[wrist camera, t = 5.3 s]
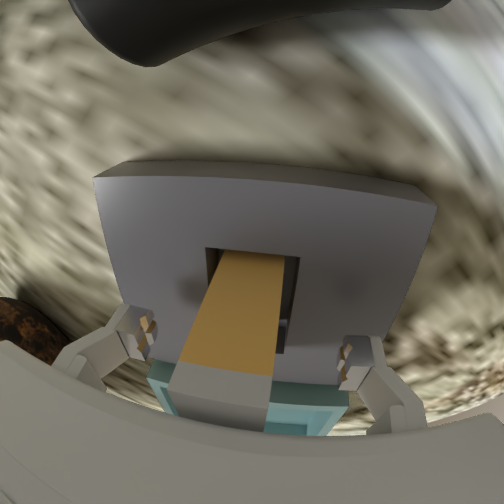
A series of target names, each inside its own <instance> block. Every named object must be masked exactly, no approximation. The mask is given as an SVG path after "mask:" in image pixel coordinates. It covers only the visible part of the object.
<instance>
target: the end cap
mask: <svg viewBox="0 0 504 504" xmlns="http://www.w3.org/2000/svg"><path fill="white" fill-rule="evenodd" d="M68 1H69V3H70V5H71V7H72V9H73V11H74V13H75V14H76V16H77V17H78V19H79V20H80V21H81V23H82V24H83V26H84V27H85V28H86V29H87V30H88V31H89V32H90V33H91V35H92V36H93V37H94V38H95V39H96V40H97V41H99V42H100V43H101V44H102V45H103V46H104V47H105V48H107V49H108V50H109V51H111V52H112V53H114V54H115V55H117V56H118V57H120V58H121V59H124V60H126V61H128V62H130V63H132V64H135V65H139V66H143V67H156V66H159V65H161V64H163V63H165V62H167V61H169V60H171V59H173V58H175V57H178V56H180V55H182V54H184V53H186V52H189V51H191V50H193V49H195V48H198V47H200V46H203V45H205V44H208V43H210V42H213V41H215V40H218V39H221V38H223V37H226V36H229V35H232V34H235V33H238V32H241V31H244V30H248V29H251V28H254V27H258V26H261V25H265V24H269V23H273V22H277V21H281V20H286V19H290V18H295V17H300V16H306V15H312V14H318V13H325V12H333V11H342V10H354V9H374V8H397V9H417V10H436V9H440V8H442V7H444V6H445V5H447V4H448V3H449V2H451V0H68Z"/></svg>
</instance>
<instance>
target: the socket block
mask: <svg viewBox="0 0 504 504" xmlns="http://www.w3.org/2000/svg"><path fill="white" fill-rule="evenodd" d="M93 184H94V189H95V195H96V200H97V206H98V211H99V215H100V220H101V224H102V229H103V233H104V237H105V241H106V245H107V249H108V253H109V256H110V260H111V264H112V267H113V271H114V274H115V277H116V281H117V284H118V287H119V290H120V293H121V296H122V299H123V302H124V304H129V305H133V306H137V307H141V308H145V309H149V310H152V311H153V313H154V318H153V320H154V321H155V322H156V323H157V326H158V334H157V338H156V340H155V343H153V344H151V345H150V349H151V351H150V353H149V355H148V357H150V358H154V359H157V360H161V361H165V362H169V363H174V364H177V362H178V359H179V357H180V354H181V352H182V349H183V347H184V345H185V342H186V340H187V337H188V335H189V332H190V330H191V328H192V325H193V323H194V320H195V318H196V316H197V313H198V311H199V309H200V306H201V304H202V301H203V299H204V297H205V294H206V292H207V290H208V287H209V285H210V283H211V280H212V278H213V276H214V274H215V271H216V269H217V267H218V264H219V262H220V260H221V258H222V255H223V253H224V251H225V249H229V250H238V251H248V252H257V253H267V254H276V255H285V261H284V273H283V284H282V295H281V305H280V315H279V324H278V334H277V343H276V351H275V360H274V368H273V376H272V380H273V381H282V382H293V383H306V384H324V385H338V382H337V376H338V374H339V370H338V369H337V364H336V362H337V354H338V351H339V348H340V347H341V346H343V338H344V336H345V335H363V336H380V338H381V341H382V342H383V340H384V338H385V337H386V335H387V333H388V331H389V329H390V327H391V325H392V323H393V321H394V319H395V317H396V315H397V313H398V311H399V309H400V307H401V304H402V302H403V300H404V298H405V296H406V293H407V291H408V289H409V287H410V284H411V282H412V279H413V277H414V275H415V272H416V270H417V267H418V265H419V262H420V259H421V257H422V254H423V251H424V248H425V246H426V243H427V240H428V237H429V234H430V231H431V228H432V225H433V221H434V218H435V215H436V211H437V208H438V206H437V205H436V204H435V203H434V202H433V201H432V200H431V199H430V198H428V197H427V196H426V195H425V194H424V193H423V192H422V191H421V190H419V189H418V188H417V187H416V186H415V185H411V184H406V183H402V182H397V181H392V180H386V179H381V178H375V177H370V176H364V175H358V174H351V173H345V172H338V171H330V170H323V169H315V168H306V167H297V166H287V165H275V164H262V163H247V162H227V161H136V162H122V163H120V164H118V165H116V166H114V167H112V168H110V169H108V170H106V171H104V172H102V173H100V174H98V175H96V176H95V177H93Z"/></svg>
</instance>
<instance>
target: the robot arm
mask: <svg viewBox="0 0 504 504" xmlns="http://www.w3.org/2000/svg"><path fill="white" fill-rule="evenodd" d="M153 318H154V313H153V311H152V310H149V309H145V308H141V307H137V306H133V305H129V304H124V303H122V304H121V305H120V306H119V307H118V308H117V310H116V311H115V313H114V314H113V316H112V317H111V319H110V320H109V321H108V323H107V324H106V326H105V327H100V328H99V329H97V330H95V331H93V332H91V333H89V334H87V335H85V336H84V337H82V338H80V339H78V340H76V341H74V342H72V343H71V344H69V345H67V346H65V347H64V348H63V349H62V351H61V352H60V354H59V355H58V357H57V358H56V360H55V361H54V363H53V364H52V366H50V365H48V364H46V363H44V362H43V361H41V360H39V359H37V358H36V357H34V356H32V355H31V354H29V353H27V352H26V351H24V350H23V349H21V348H19V347H18V346H16V345H15V344H13V343H12V342H10V341H8V340H4V341H1V342H0V504H504V424H503V423H502V422H501V421H500V420H499V419H498V418H497V417H496V416H494V415H493V414H492V413H483V414H480V415H477V416H473V417H470V418H466V419H463V420H459V421H455V422H451V423H446V424H442V425H437V426H432V427H427V421H426V416H425V410H424V405H423V401H422V400H421V399H420V398H419V397H418V396H417V395H416V394H415V393H414V392H413V391H412V390H411V388H410V387H409V386H408V385H407V384H406V383H405V382H404V381H403V380H402V379H401V378H400V377H399V376H398V375H397V374H396V372H395V371H394V370H393V369H392V368H391V367H387V363H386V358H385V354H384V349H383V345H382V341H381V338H380V336H363V335H345V336H344V338H343V346H341V347H340V348H339V351H338V354H337V362H336V364H337V369H338V370H339V374H338V376H337V382H338V390H348V391H357V393H358V395H359V396H360V398H361V399H362V401H363V402H364V404H365V405H366V407H367V408H368V410H369V411H370V413H371V414H372V416H373V417H374V419H375V420H376V422H375V423H374V424H373V425H372V426H371V427H370V428H369V429H368V430H367V431H366V435H356V436H304V435H287V434H275V433H266V432H257V431H250V430H243V429H236V428H230V427H224V426H219V425H214V424H209V423H204V422H200V421H195V420H191V419H187V418H183V417H179V416H175V415H172V414H168V413H165V412H161V411H158V410H155V409H151V408H148V407H145V406H142V405H139V404H136V403H133V402H130V401H128V400H125V399H122V398H119V397H117V396H114V395H112V394H109V393H107V392H106V390H107V388H106V386H105V384H104V383H103V382H102V380H101V379H102V378H103V377H105V376H106V375H107V374H109V373H110V372H111V371H113V370H114V369H115V368H117V367H118V366H119V365H121V364H122V363H123V362H125V361H126V360H127V359H129V357H131V358H134V359H138V360H142V361H146V359H147V357H148V355H149V353H150V351H151V349H150V345H151V344H153V343H155V340H156V338H157V334H158V326H157V323H156V322H155V321H154V320H153Z"/></svg>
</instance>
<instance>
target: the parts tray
mask: <svg viewBox="0 0 504 504" xmlns="http://www.w3.org/2000/svg"><path fill="white" fill-rule="evenodd" d="M175 367H176V364H174V363H169V362H165V361H161V360H157V359H154V361H153V364H152V366H151V368H150V370H149V372H148V374H147V377H146V378H147V380H148V382H149V384H150V386H151V388H152V390H153V392H154V393H155V395H156V397H157V399H158V401H159V403H160V404H161V406H162V408H163V410H164V411H165V413H168V414H172V415H175V416H179V415H178V413H177V411H176V409H175V406H174V404H173V402H172V400H171V398H170V396H169V394H168V392H167V390H166V389H167V387H168V384H169V382H170V379H171V377H172V374H173V372H174V369H175ZM348 407H349V396H348V390H338V385H324V384H306V383H293V382H282V381H273V380H272V384H271V392H270V399H269V407H268V412H267V417H266V421H265V426H264V431H263V432H266V433H275V434H287V435H304V436H326V435H327V434H328V433H329V432H330V430H331V429H332V428H333V427H334V425H335V424H336V423H337V422H338V420H339V419H340V418H341V417H342V415H343V414H344V413H345V411H346V410H347V409H348Z"/></svg>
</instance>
